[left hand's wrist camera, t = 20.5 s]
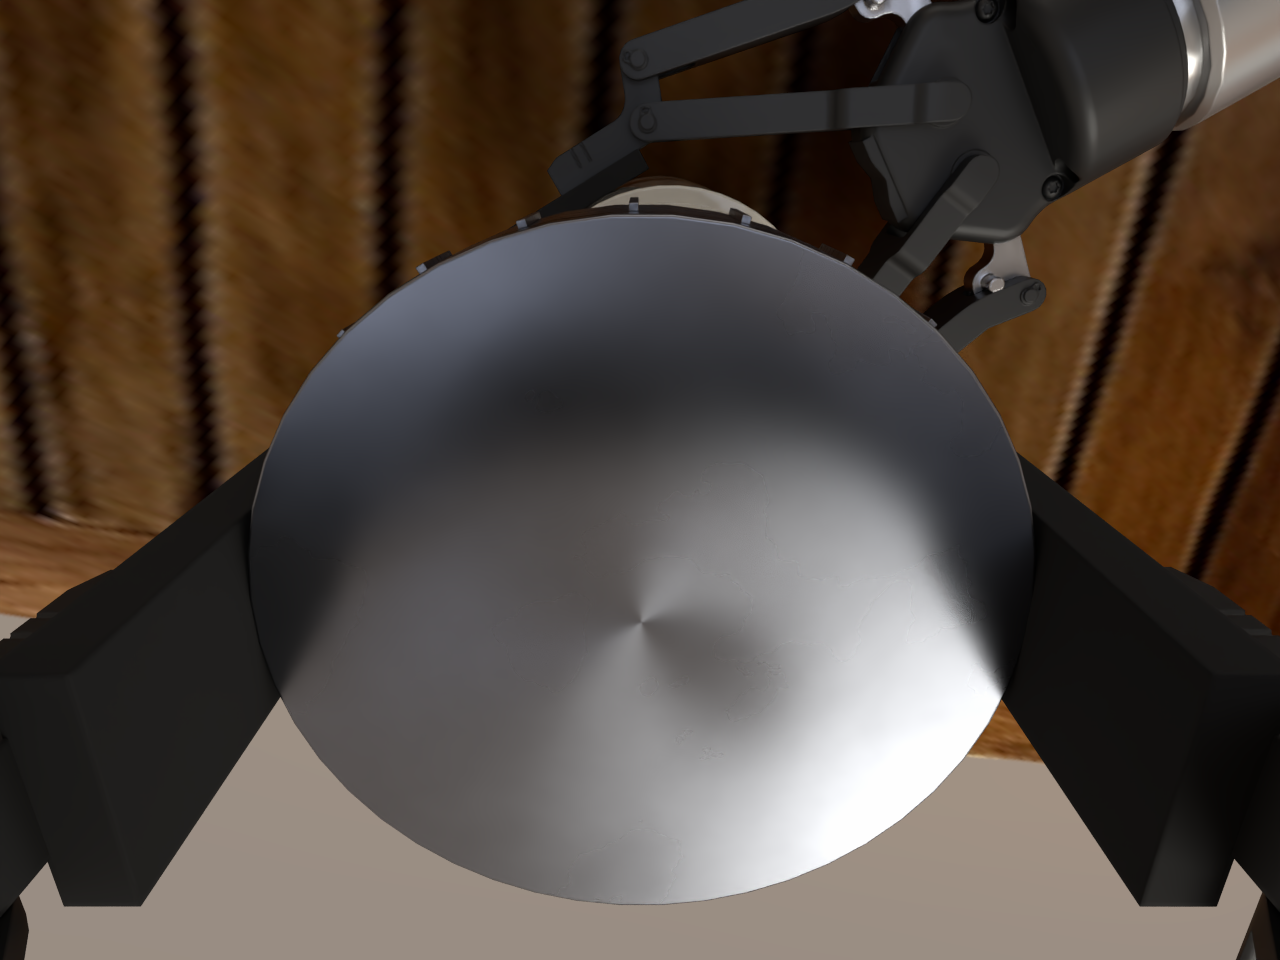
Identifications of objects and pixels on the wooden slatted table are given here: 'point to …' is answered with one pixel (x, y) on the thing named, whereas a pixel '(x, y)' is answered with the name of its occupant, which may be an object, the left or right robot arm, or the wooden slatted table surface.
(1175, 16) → the right robot arm
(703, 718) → the lid
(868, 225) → the wooden slatted table surface
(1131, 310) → the wooden slatted table surface
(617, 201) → the jar
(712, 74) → the wooden slatted table surface
